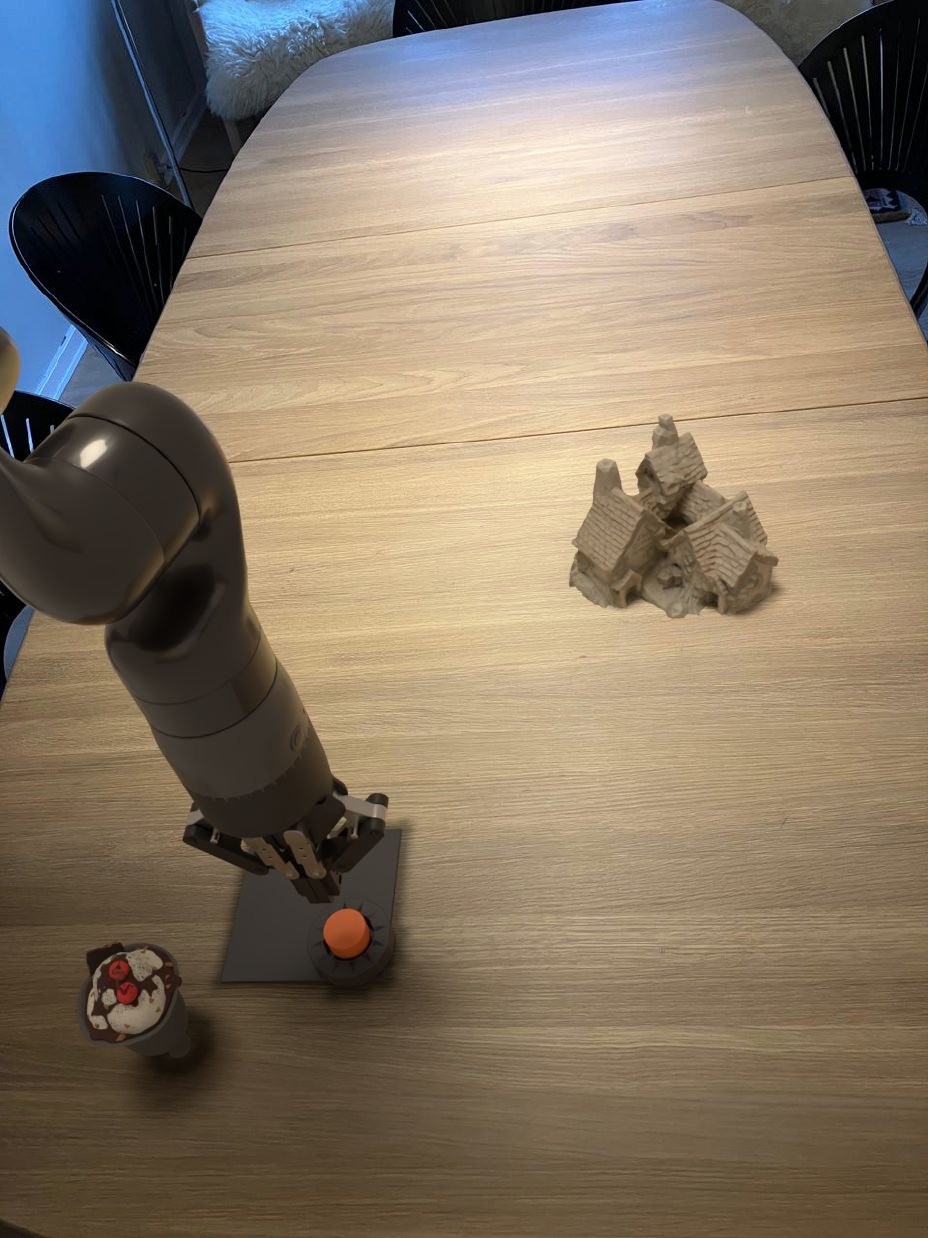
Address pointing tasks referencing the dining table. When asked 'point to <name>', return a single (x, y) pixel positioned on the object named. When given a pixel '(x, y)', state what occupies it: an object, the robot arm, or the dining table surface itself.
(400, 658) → the dining table surface
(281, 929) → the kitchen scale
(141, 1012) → the sundae
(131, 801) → the dining table surface
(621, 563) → the ceramic cottage
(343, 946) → the button
